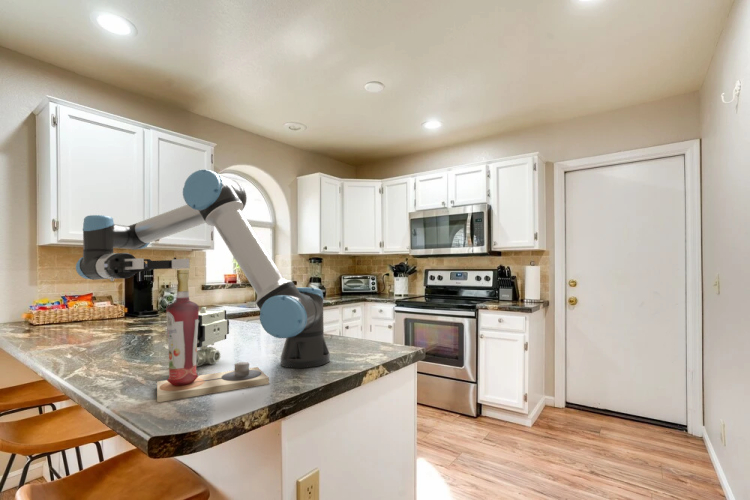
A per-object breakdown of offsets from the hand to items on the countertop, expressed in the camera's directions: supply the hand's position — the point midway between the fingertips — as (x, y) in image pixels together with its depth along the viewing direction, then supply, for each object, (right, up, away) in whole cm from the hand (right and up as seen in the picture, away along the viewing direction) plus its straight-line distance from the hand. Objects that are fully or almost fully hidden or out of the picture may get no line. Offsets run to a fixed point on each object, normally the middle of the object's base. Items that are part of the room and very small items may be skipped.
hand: (166, 263), depth 105 cm
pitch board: (+15, -31, -6) cm, 35 cm away
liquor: (+9, -30, -9) cm, 32 cm away
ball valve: (+3, -33, +18) cm, 37 cm away
